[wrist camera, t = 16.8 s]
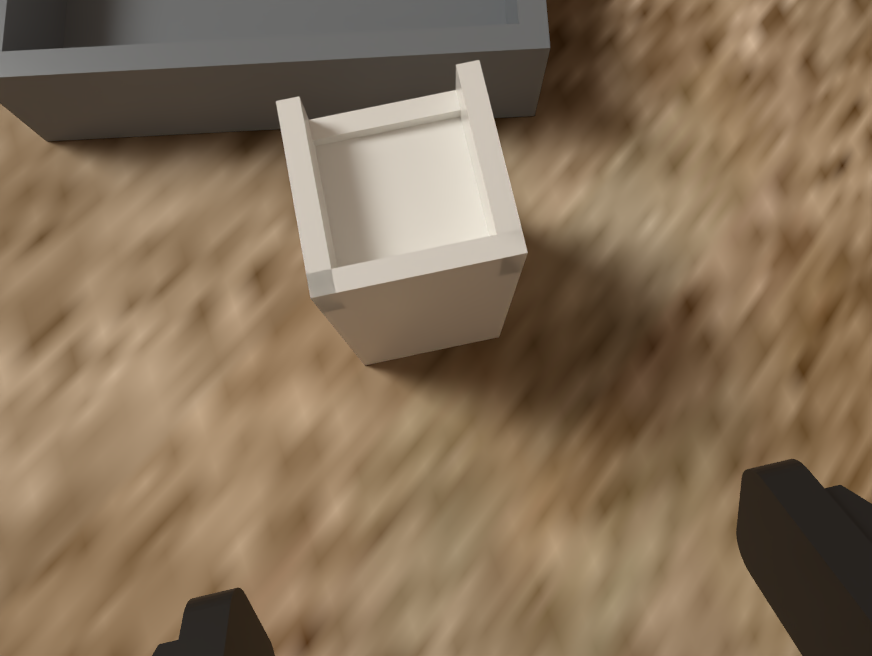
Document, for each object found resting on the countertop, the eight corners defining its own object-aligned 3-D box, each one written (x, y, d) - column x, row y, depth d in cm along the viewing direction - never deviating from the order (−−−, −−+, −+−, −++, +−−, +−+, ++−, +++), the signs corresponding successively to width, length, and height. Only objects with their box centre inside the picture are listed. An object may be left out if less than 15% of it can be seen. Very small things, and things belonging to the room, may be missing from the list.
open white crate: (499, 336, 26) (527, 252, 16) (364, 365, 26) (310, 298, 16) (469, 210, 27) (478, 59, 17) (340, 237, 27) (275, 100, 17)
